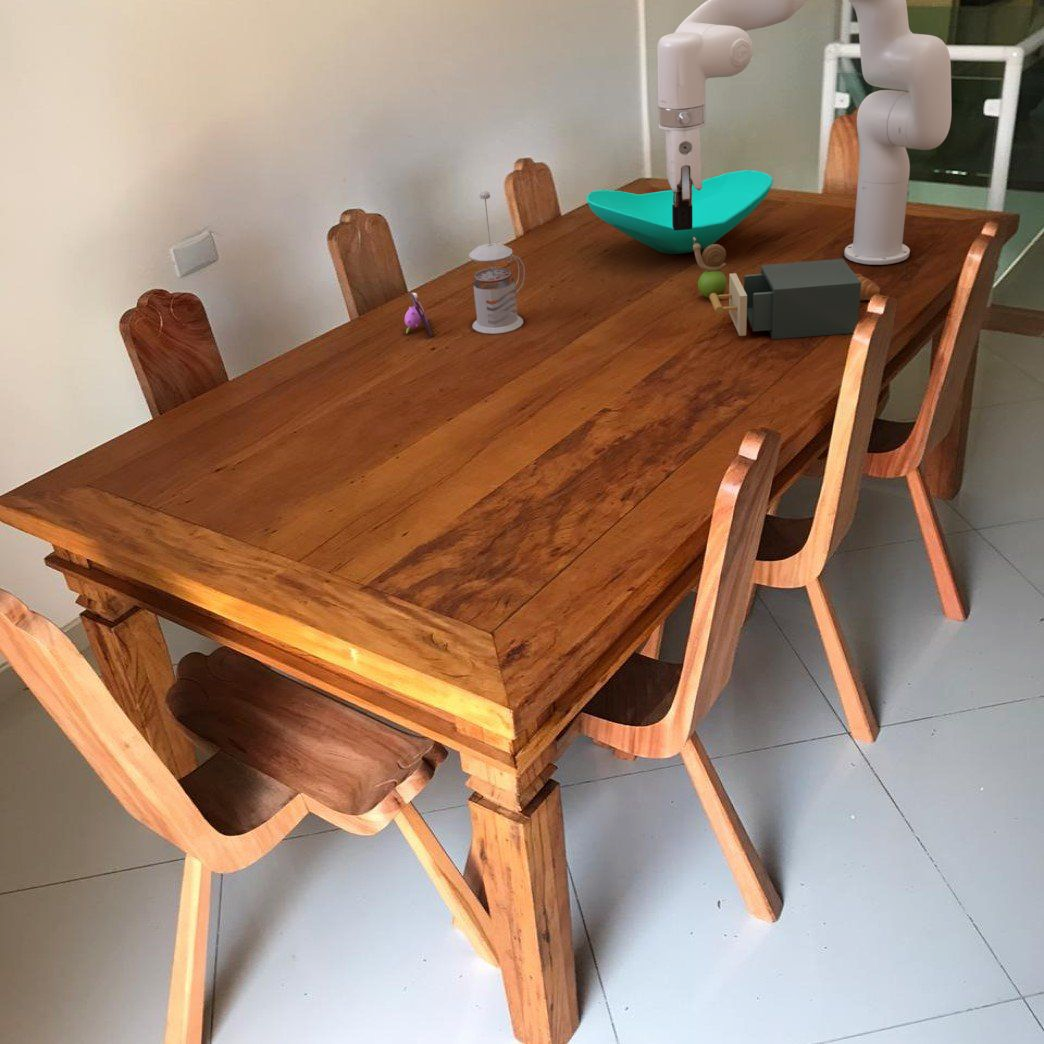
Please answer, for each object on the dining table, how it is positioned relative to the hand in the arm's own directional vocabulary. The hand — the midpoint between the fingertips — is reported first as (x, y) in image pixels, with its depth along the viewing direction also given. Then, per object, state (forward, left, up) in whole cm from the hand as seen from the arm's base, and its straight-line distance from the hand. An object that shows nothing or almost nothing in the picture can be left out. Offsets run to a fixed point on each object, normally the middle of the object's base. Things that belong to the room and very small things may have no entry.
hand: (682, 228), depth 187 cm
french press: (-12, -33, -19) cm, 40 cm away
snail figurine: (-16, +7, -19) cm, 26 cm away
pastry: (-12, +33, -19) cm, 40 cm away
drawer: (0, +14, -18) cm, 23 cm away
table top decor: (-46, +5, -19) cm, 50 cm away
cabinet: (0, +22, -19) cm, 29 cm away
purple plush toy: (-11, -49, -19) cm, 54 cm away
